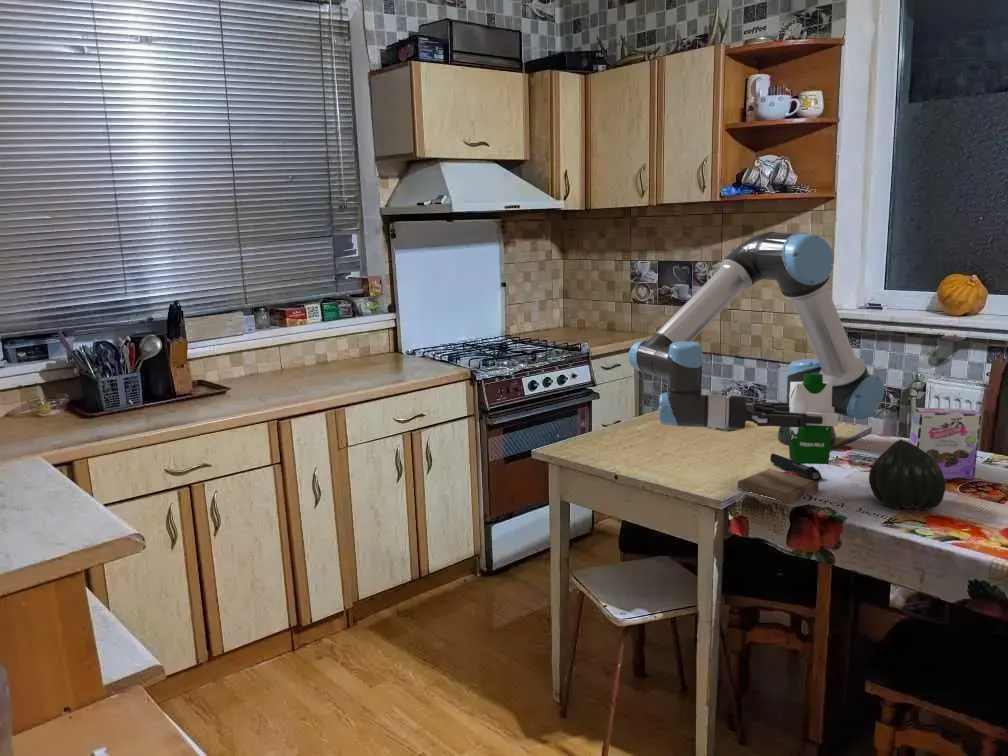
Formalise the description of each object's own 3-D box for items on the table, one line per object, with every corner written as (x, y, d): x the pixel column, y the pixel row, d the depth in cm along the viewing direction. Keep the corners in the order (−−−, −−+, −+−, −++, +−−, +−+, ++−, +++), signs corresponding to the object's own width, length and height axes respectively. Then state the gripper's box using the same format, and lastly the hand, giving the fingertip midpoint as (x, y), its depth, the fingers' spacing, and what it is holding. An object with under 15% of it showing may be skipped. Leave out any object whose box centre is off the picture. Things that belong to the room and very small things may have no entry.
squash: (948, 500, 171) (946, 435, 177) (869, 494, 176) (870, 431, 183) (941, 525, 182) (940, 462, 189) (867, 518, 188) (868, 458, 195)
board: (768, 476, 203) (769, 467, 203) (818, 490, 193) (818, 480, 193) (737, 489, 195) (738, 480, 194) (787, 504, 185) (788, 494, 185)
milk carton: (792, 464, 185) (794, 374, 183) (784, 458, 193) (786, 372, 192) (833, 465, 183) (836, 374, 182) (824, 459, 192) (826, 372, 191)
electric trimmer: (778, 463, 214) (778, 451, 214) (822, 480, 200) (823, 468, 200) (766, 465, 213) (766, 453, 212) (810, 483, 199) (811, 470, 198)
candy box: (913, 478, 200) (919, 412, 196) (905, 470, 205) (911, 406, 202) (974, 480, 198) (982, 413, 194) (965, 472, 204) (972, 407, 200)
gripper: (726, 417, 199) (828, 422, 194) (727, 439, 182) (840, 444, 177) (727, 387, 198) (831, 390, 192) (729, 405, 180) (843, 410, 175)
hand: (835, 416), depth 185 cm, fingers closed on milk carton, 5 cm apart
